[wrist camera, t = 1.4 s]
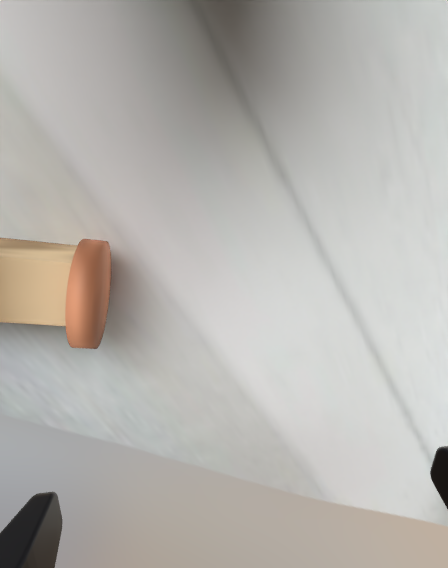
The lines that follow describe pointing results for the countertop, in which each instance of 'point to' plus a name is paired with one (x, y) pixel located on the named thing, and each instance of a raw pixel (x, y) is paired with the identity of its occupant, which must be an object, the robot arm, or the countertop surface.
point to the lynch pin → (57, 286)
